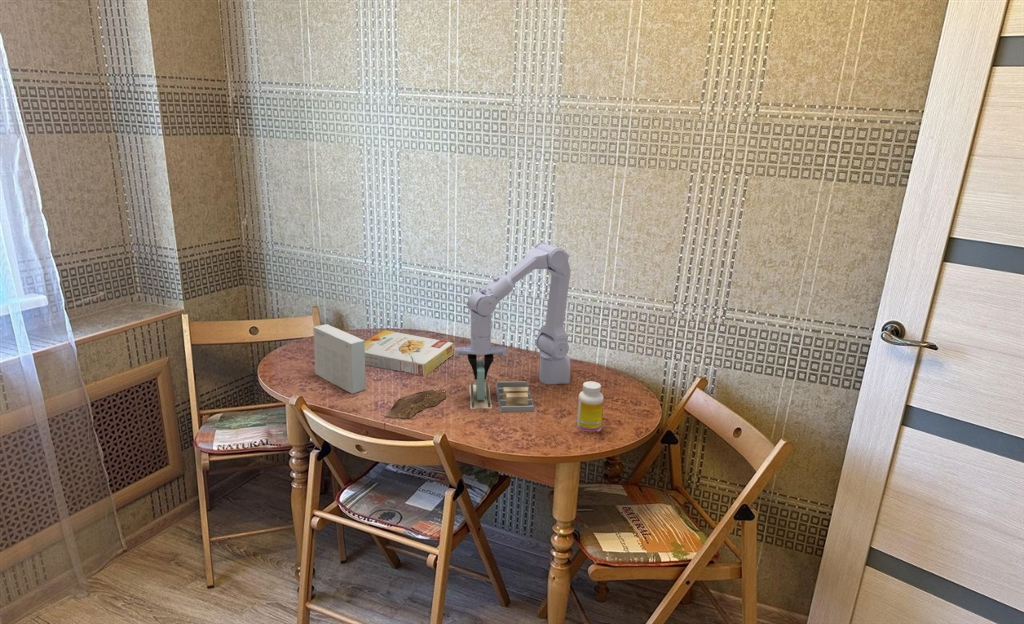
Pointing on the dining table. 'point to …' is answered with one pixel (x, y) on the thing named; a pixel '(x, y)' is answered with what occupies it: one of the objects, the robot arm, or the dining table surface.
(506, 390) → the block
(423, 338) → the cereal box
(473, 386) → the holder
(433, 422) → the dining table surface
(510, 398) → the offcut front
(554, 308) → the robot arm
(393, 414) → the wooden fragment
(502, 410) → the rack
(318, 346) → the skincare box
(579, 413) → the supplement bottle
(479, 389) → the teal rectangular block
